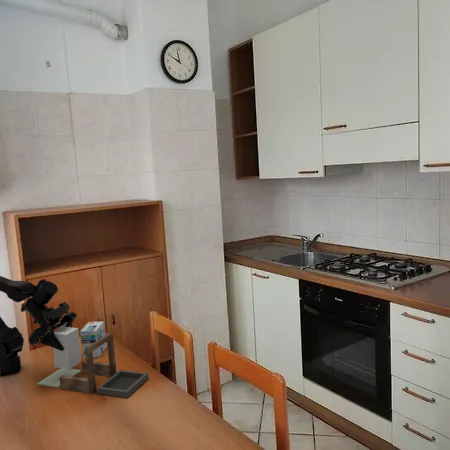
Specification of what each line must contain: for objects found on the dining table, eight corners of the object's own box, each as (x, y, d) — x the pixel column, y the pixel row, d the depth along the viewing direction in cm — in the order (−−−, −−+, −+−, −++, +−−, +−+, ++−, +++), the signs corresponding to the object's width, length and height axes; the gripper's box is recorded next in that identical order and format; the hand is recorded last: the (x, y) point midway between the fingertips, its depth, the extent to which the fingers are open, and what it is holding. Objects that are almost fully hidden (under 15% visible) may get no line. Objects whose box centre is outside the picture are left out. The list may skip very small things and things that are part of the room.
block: (55, 367, 153) (51, 333, 151) (66, 359, 158) (63, 326, 157) (69, 369, 151) (66, 334, 149) (81, 361, 156) (78, 328, 154)
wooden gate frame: (60, 388, 149) (55, 345, 147) (85, 371, 161) (81, 330, 159) (93, 393, 144) (88, 348, 142) (116, 375, 156) (112, 333, 154)
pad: (37, 384, 153) (37, 383, 152) (61, 369, 164) (61, 367, 164) (58, 387, 150) (57, 386, 150) (81, 371, 161) (81, 370, 161)
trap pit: (97, 394, 144) (96, 388, 143) (120, 375, 156) (120, 369, 155) (127, 398, 140) (126, 392, 139) (148, 378, 152) (148, 373, 151)
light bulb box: (99, 357, 172) (96, 330, 170) (82, 358, 172) (79, 331, 170) (107, 346, 182) (104, 320, 181) (90, 347, 182) (88, 321, 181)
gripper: (31, 306, 144) (63, 342, 142) (70, 289, 161) (99, 321, 159) (15, 327, 148) (45, 363, 145) (54, 309, 165) (82, 341, 163)
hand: (69, 346), depth 153 cm, fingers closed on block, 6 cm apart
